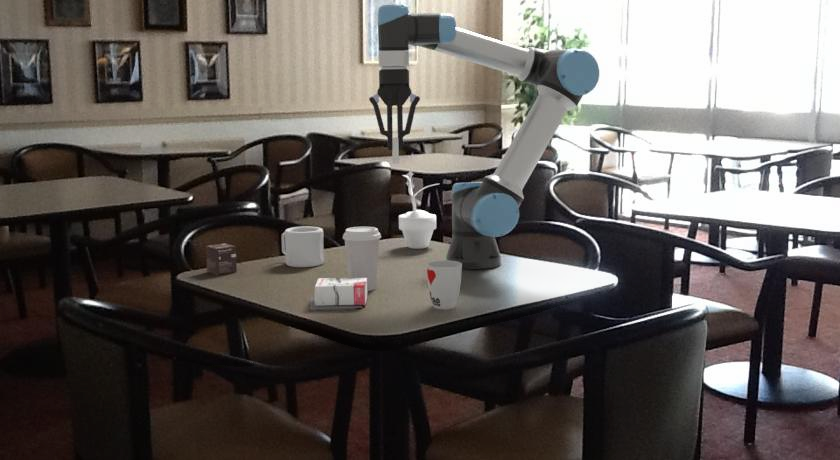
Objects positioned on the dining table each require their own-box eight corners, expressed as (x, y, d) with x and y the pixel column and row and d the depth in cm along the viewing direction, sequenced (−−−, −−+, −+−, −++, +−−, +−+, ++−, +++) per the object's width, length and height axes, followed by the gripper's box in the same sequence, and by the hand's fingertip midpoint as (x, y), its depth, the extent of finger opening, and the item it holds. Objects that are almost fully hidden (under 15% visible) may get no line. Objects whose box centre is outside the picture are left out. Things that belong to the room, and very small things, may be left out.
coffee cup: (353, 294, 234) (351, 233, 232) (338, 287, 242) (336, 228, 240) (388, 290, 238) (387, 230, 236) (372, 282, 247) (371, 224, 244)
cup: (425, 303, 225) (424, 260, 223) (459, 301, 225) (459, 259, 224) (428, 311, 217) (428, 268, 215) (464, 310, 217) (464, 266, 216)
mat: (361, 297, 231) (361, 296, 231) (362, 308, 220) (362, 307, 220) (311, 298, 230) (311, 297, 230) (309, 310, 219) (309, 309, 219)
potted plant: (395, 250, 290) (394, 167, 286) (402, 243, 302) (401, 163, 297) (437, 251, 288) (436, 167, 284) (442, 244, 299) (442, 163, 295)
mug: (331, 262, 274) (330, 227, 272) (307, 269, 265) (306, 233, 263) (294, 258, 281) (293, 224, 279) (270, 264, 272) (268, 229, 270)
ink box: (365, 285, 221) (313, 286, 221) (365, 306, 222) (314, 306, 222) (367, 276, 229) (317, 277, 229) (367, 296, 230) (317, 297, 230)
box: (217, 275, 258) (216, 248, 257) (206, 272, 263) (205, 245, 261) (237, 272, 262) (236, 245, 261) (226, 269, 267) (224, 242, 265)
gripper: (419, 68, 244) (420, 161, 248) (367, 68, 243) (369, 162, 247) (421, 68, 237) (422, 164, 241) (368, 68, 236) (370, 165, 240)
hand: (395, 163), depth 244 cm, fingers closed
